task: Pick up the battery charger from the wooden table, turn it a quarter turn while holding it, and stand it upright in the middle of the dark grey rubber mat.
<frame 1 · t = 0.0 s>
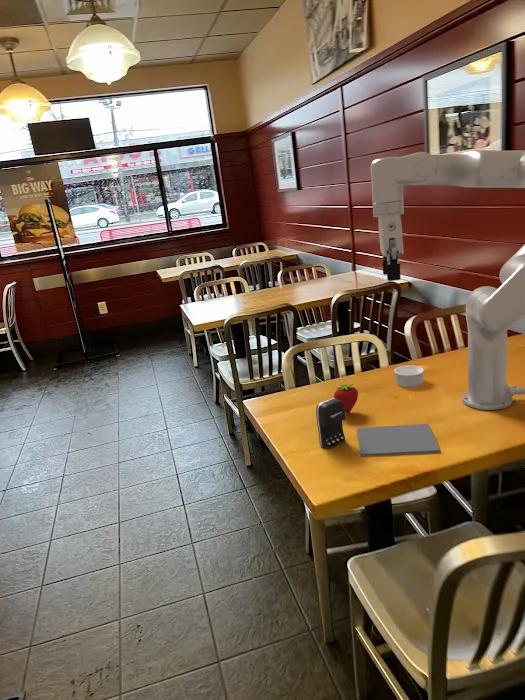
hand: (391, 277, 135), 37 cm above the table, tool pointing down, fingers open, 9 cm apart
strawberry: (347, 413, 146), on the table
mat: (395, 440, 127), on the table
battery charger: (334, 444, 129), on the table
ramekin: (409, 383, 162), on the table
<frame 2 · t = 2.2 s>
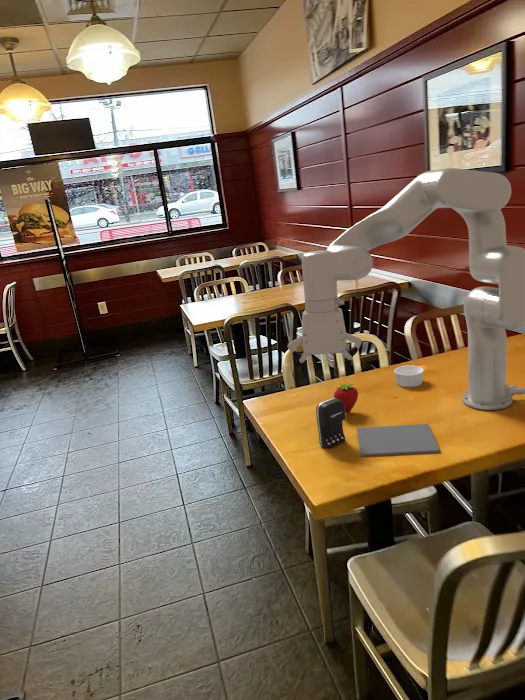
hand: (326, 375, 124), 18 cm above the table, tool pointing down, fingers open, 9 cm apart
nothing on the table moved.
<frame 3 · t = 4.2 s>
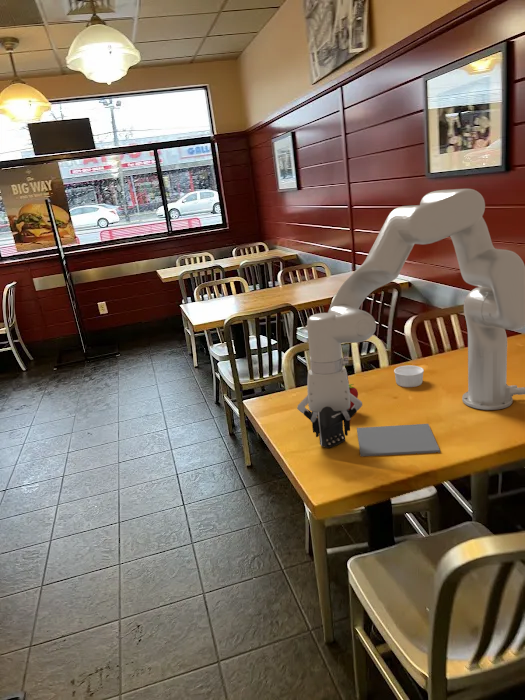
hand: (331, 433, 128), 3 cm above the table, tool pointing down, fingers closed on battery charger, 6 cm apart
battery charger: (334, 444, 129), on the table, touching gripper
everything else where it was.
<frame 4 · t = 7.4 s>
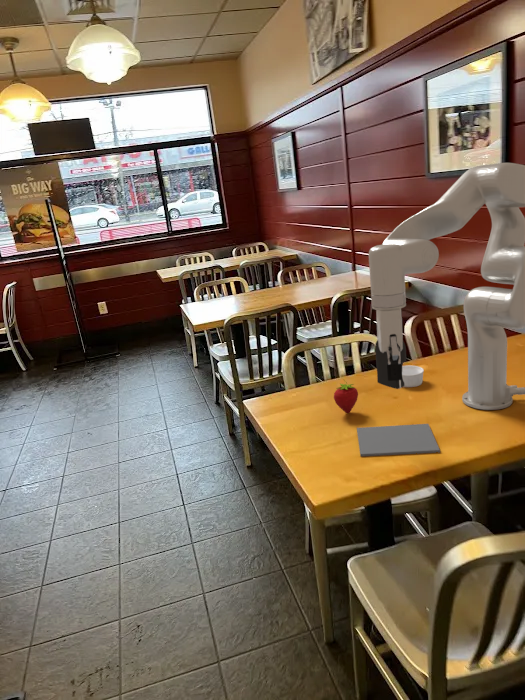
hand: (392, 373, 122), 17 cm above the table, tool pointing down, fingers closed on battery charger, 6 cm apart
battery charger: (392, 385, 124), point 14 cm above the table, touching gripper
everything else where it was.
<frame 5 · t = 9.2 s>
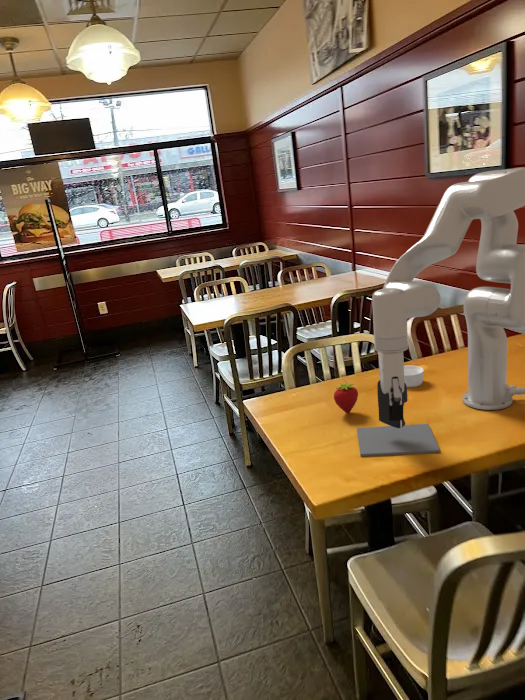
hand: (394, 413, 125), 7 cm above the table, tool pointing down, fingers closed on battery charger, 6 cm apart
battery charger: (393, 424, 126), point 4 cm above the table, touching gripper
everything else where it was.
when the fingers open (5 cm above the table, at t = 10.7 s): battery charger stays where it is, resting on mat.
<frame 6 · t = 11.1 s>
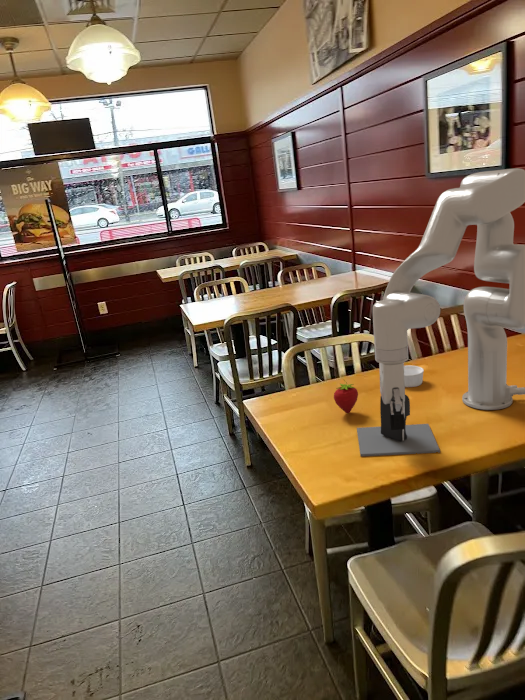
hand: (394, 420, 126), 5 cm above the table, tool pointing down, fingers open, 9 cm apart
battery charger: (395, 437, 128), resting on mat
everything else where it was.
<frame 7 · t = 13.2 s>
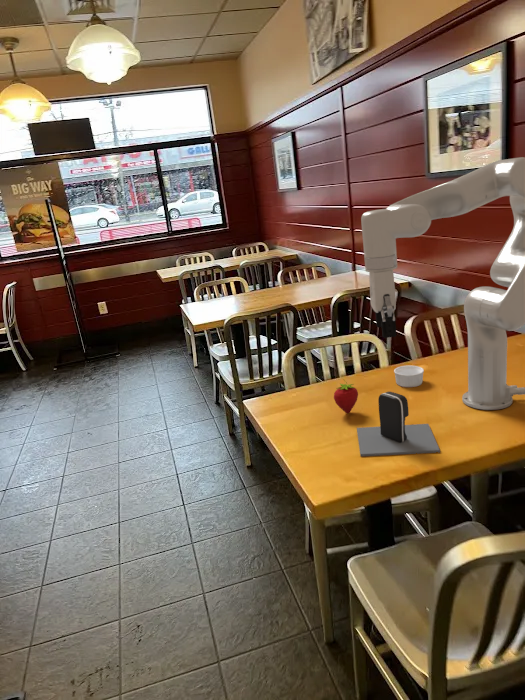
hand: (386, 331, 129), 25 cm above the table, tool pointing down, fingers open, 9 cm apart
nothing on the table moved.
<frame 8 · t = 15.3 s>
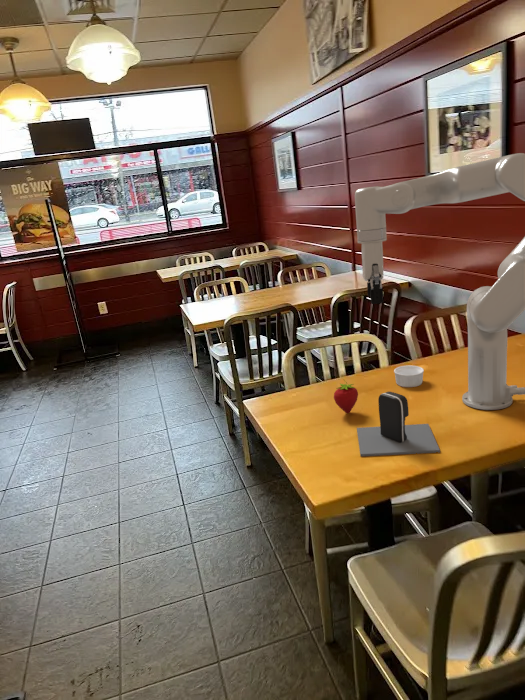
hand: (375, 299, 141), 30 cm above the table, tool pointing down, fingers open, 9 cm apart
nothing on the table moved.
at the end: battery charger inside the target area on the mat (0.7 cm from its centre), point 0.4 cm above the mat's base; battery charger tilted 0°; the gripper is holding nothing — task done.
